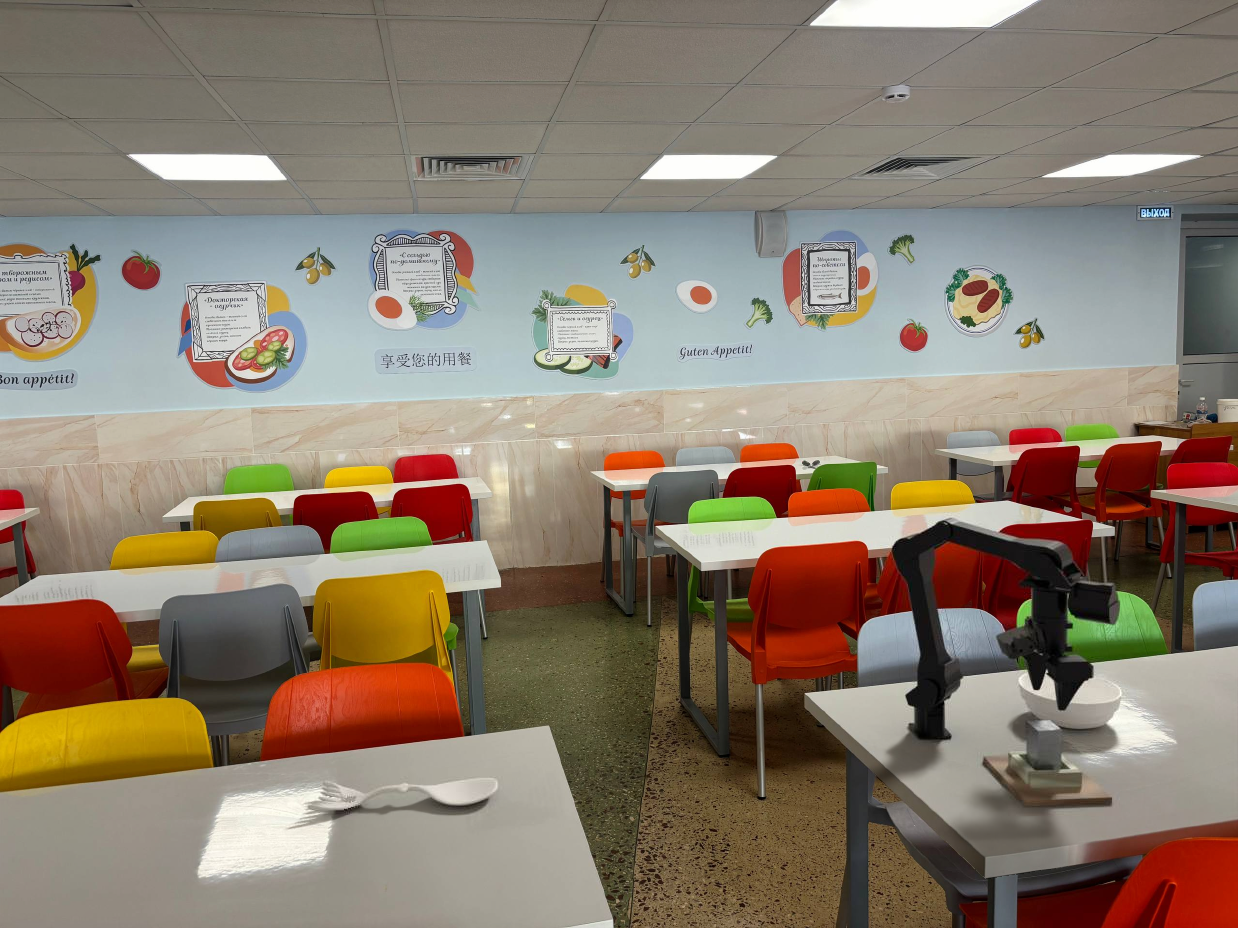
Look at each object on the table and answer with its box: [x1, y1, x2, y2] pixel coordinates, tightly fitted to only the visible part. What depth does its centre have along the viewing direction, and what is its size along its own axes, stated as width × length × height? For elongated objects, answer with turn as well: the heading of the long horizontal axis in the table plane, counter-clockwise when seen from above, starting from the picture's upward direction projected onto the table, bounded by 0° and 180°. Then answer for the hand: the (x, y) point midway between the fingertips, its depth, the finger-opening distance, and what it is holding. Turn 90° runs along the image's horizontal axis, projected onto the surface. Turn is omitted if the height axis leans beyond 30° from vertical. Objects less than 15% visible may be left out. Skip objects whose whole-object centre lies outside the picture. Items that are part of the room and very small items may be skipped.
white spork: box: [307, 777, 499, 812], centre depth 145 cm, size 9×32×4 cm, turn 92°
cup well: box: [982, 750, 1113, 808], centre depth 141 cm, size 16×14×4 cm
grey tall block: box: [1025, 719, 1063, 771], centre depth 141 cm, size 4×4×9 cm
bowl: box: [1017, 670, 1123, 730], centre depth 165 cm, size 18×18×7 cm
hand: (1048, 699), depth 145 cm, fingers open, 9 cm apart
